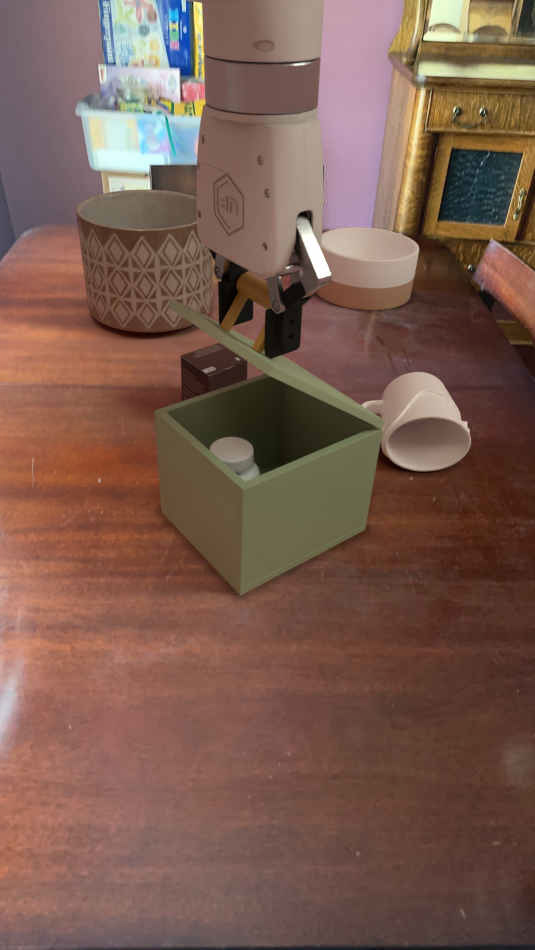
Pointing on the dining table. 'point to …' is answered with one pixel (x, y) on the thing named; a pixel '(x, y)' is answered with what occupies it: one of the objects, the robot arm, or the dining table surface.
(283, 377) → the lid
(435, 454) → the mug
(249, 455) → the pill bottle
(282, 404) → the chest
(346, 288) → the bowl
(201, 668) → the dining table surface
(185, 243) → the planter
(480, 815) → the dining table surface
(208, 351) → the box
